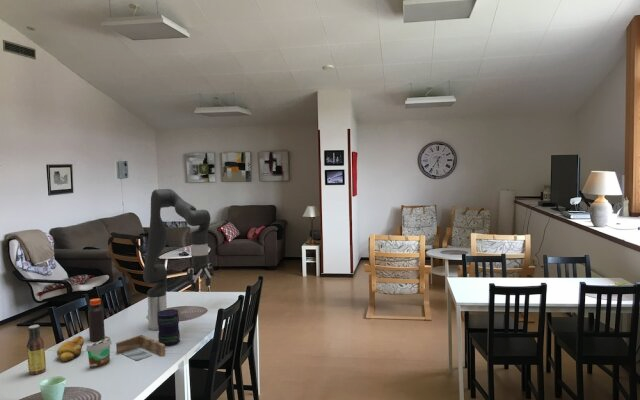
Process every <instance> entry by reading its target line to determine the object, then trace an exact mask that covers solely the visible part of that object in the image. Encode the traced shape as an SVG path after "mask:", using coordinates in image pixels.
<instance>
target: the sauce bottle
mask: <svg viewBox="0 0 640 400" xmlns="http://www.w3.org/2000/svg"><path fill="white" fill-rule="evenodd" d="M40 327H41V326H40V325H39V324H33V325H30V326H28V329H27V330H28V331H27V332H28V335H29V336H28V337H29V338H28V340H27V343H26V352H27V365H28V371H29V375H33V376H34V375H40V374H42V373H45V371H47V367H46V366H47V362H46V361H47V359H46V349H45V341H44V339H43V338H42V336H41V333H40V332H41V331H40V330H41V328H40Z"/></svg>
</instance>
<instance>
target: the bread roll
mask: <svg viewBox="0 0 640 400" xmlns="http://www.w3.org/2000/svg"><path fill="white" fill-rule="evenodd" d="M84 344H85V339H84V337H83V336H81V335H78V336H75V337H74V338H72V339H71V340H66V341H64V342H62V343H61V344H60V346H59V347H58V348H57V351H56V355H57V357H58V359H60V360H61V361H63V362H68V361H71V360H73V359H74V358H75V357H77V356H79V355H80V354H81V352H82V348H83V346H84Z"/></svg>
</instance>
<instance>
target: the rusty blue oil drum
mask: <svg viewBox="0 0 640 400" xmlns="http://www.w3.org/2000/svg"><path fill="white" fill-rule="evenodd" d="M179 319H180V316H179V310H178V309H174V308H172V309H171V308H170V309H168V308H167V310H162V311H160V312H158V313H157V321H158V323H157V324H158V328H159V330H158V333H157V338H158V342H160V343H162V344H165V348H167V347H173V346H176V345H179V343H180V342H181V341H180V339H181V338H180V336H181V335H180V329H179V328H180V327H179V325H180V324H179V323H180V320H179Z"/></svg>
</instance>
